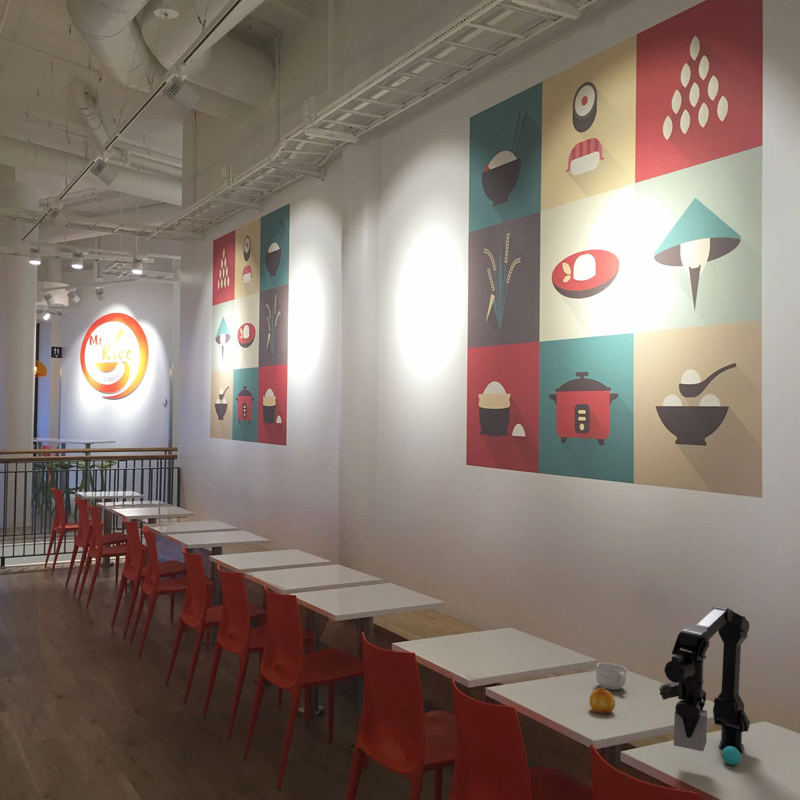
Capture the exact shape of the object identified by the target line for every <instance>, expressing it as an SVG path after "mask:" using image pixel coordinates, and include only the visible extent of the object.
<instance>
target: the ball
mask: <svg viewBox="0 0 800 800" xmlns="http://www.w3.org/2000/svg"><path fill="white" fill-rule="evenodd" d="M721 757H722V759H723V761H724V762H725V763H726V764H728V765H729V766H736V765H738V764H739V763H740V762H741V760H742V755H741V753H740V752H739V750H738V749H737V748H735V747H733V746H727V747H725V748H724V749H722V752H721Z"/></svg>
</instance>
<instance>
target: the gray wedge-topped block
mask: <svg viewBox="0 0 800 800" xmlns="http://www.w3.org/2000/svg"><path fill="white" fill-rule="evenodd" d="M673 725H674V726H673V727H674V730H673V746H674V747H680V748H685V749H689V750H693V751H698V752H704V751H705V747H706V744H707V735H708V734H707V731H708V730H707V728H708V727H707V725H708V710H706V709H703V710H701V715H700V718H699V720H698V722H697V725H696V727H695V729H694V731H693V734H692V736H691V738H689V737H687V736H686V732H685V727H684V723H683V719H682V718H681V717H680V716H679V715H678V714H676V713H675V712H674V724H673Z"/></svg>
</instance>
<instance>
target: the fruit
mask: <svg viewBox="0 0 800 800" xmlns="http://www.w3.org/2000/svg"><path fill="white" fill-rule="evenodd" d="M588 701H589V706H590V708H591V710H593V711H594V712H595V713H597V712H598V713H599V714H610V713H611V712H613V711H614V709H615V707H616V700H615V697H614V695H613V694H612V693H611V692H610V691H609V690H608V689H605V688H603V687H598V688H597V689H594V690H592V692H591V694H590V695H589V700H588Z"/></svg>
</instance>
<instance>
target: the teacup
mask: <svg viewBox="0 0 800 800" xmlns="http://www.w3.org/2000/svg"><path fill="white" fill-rule="evenodd" d="M627 670H628V669H627V667H625V666H623V665H620V664H615V663H610V662H598V663H597V664H596V672H595V673H596V676H595V677H596V683H598V685H599V686H600V688H604V689H605V690H608V691H609V690H610V691H619V690H620V689H621V688H623V687H624V686H625V684H626V680H627Z"/></svg>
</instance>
